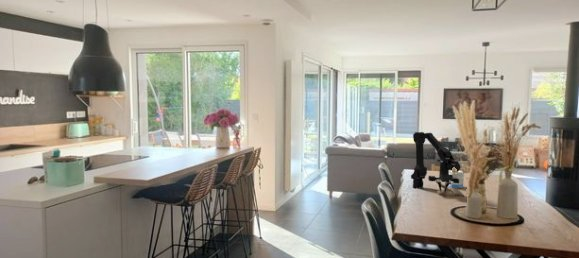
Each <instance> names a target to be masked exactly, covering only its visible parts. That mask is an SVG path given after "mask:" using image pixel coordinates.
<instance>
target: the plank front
mask: <svg viewBox="0 0 579 258" xmlns="http://www.w3.org/2000/svg"><path fill="white" fill-rule="evenodd" d="M436 193H438V195H442V196H449V197H450V196H451V197H454V195H453V193H452V192H451V191H447V190H446V192H444V190H442V189H441V192H440V189H437V190H436Z"/></svg>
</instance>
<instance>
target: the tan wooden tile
mask: <svg viewBox="0 0 579 258" xmlns="http://www.w3.org/2000/svg"><path fill="white" fill-rule="evenodd" d="M449 188H450V190H451V192H452V193H453V197H461V198H462V197H464V194H463V192H462V191H461V190H460V188H451V187H449Z"/></svg>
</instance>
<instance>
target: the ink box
mask: <svg viewBox="0 0 579 258" xmlns="http://www.w3.org/2000/svg"><path fill="white" fill-rule="evenodd" d="M449 175H453V177H456V178H458V179H459V183H454V182H453V181H451V184H449V186H448V188H455V189H464V176H465V175H464V171H462V170H461V169H460V170H459V171H458V173H457V174H453V172H452V171H451V170H449Z"/></svg>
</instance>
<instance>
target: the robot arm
mask: <svg viewBox="0 0 579 258" xmlns="http://www.w3.org/2000/svg"><path fill="white" fill-rule="evenodd" d="M412 139H413V142H414V144H415V160H416V161H415V162H416V164H415V167H414V168H413V172H412V173H411V175H410V179H411V180H412V188H413V189H423V188H424V180H425V178H426V176H427V174H428V167H425V165H424V164H425V162H424V144H425V142H426V140H427V141H428V142H429V144H430V145H431V146H432V147H433V148H434V149H435V150H436V154H437V155H438V157H439V159H437V162H439V173H438V175H439V176H438V177H436V176H435V175H428V177H427V178H428V179H427V180H428V181H429V182H435V183H436V184H437V183H438V184H437V185H438V190H440V192H441V190H442V187H441V183H444V185H445V188H443V191H444V192H446V191H447V190H446V189H447V187H448V188H449V184H451V181H453V182H454V183H459V179H458V178H456V177H453V175H449V170H451V171H452V168H453V167H455V168H456V169H457V172H458V171H459V170H460V171H461V164H460V163H459V161H458V160H455V158H454V156H453V154H452V152H451V150H450V149H448V148H447V147H445V146H444V145H442V143H441V142H440V141H439V140H438V139H437V138H436V137H435V136H434V134H433V133H432V132H424V131H415V132H414V133H413V134H412Z"/></svg>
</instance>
